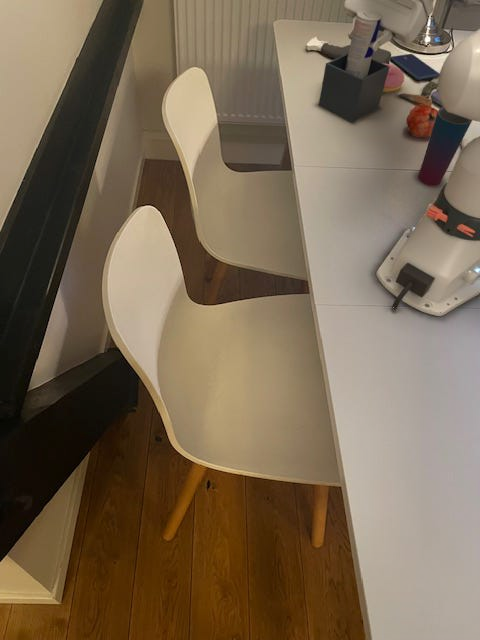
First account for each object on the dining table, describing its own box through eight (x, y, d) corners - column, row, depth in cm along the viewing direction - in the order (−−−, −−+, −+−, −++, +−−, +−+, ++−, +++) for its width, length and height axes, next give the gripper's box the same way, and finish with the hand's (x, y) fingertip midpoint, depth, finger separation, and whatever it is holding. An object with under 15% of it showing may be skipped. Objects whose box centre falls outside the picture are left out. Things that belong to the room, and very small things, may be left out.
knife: (452, 75, 144) (441, 72, 146) (453, 70, 143) (443, 67, 145) (426, 99, 133) (415, 96, 134) (428, 94, 132) (417, 91, 133)
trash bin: (352, 123, 124) (362, 80, 116) (318, 105, 129) (325, 63, 121) (378, 108, 130) (389, 66, 121) (344, 91, 134) (353, 50, 126)
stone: (401, 93, 135) (396, 99, 134) (402, 88, 134) (397, 94, 133) (433, 104, 131) (428, 109, 130) (435, 98, 130) (429, 104, 129)
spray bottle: (379, 75, 141) (300, 54, 148) (391, 60, 147) (314, 41, 154) (382, 64, 138) (301, 44, 146) (394, 50, 145) (316, 31, 152)
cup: (423, 190, 108) (449, 125, 97) (408, 171, 113) (431, 107, 101) (450, 186, 110) (479, 122, 98) (435, 167, 114) (461, 104, 102)
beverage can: (365, 87, 122) (381, 20, 110) (342, 84, 123) (356, 17, 111) (366, 77, 126) (382, 11, 114) (343, 74, 126) (357, 7, 114)
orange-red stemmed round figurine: (395, 137, 125) (413, 132, 116) (401, 106, 124) (419, 98, 114) (423, 141, 126) (443, 136, 117) (429, 110, 125) (450, 103, 115)
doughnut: (353, 82, 137) (356, 67, 134) (378, 71, 142) (382, 56, 139) (385, 98, 132) (389, 83, 129) (409, 86, 137) (414, 71, 134)
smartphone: (440, 76, 140) (411, 55, 149) (441, 73, 140) (412, 52, 149) (417, 80, 138) (389, 58, 148) (417, 77, 138) (389, 56, 147)
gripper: (363, -36, 116) (325, 19, 119) (433, -7, 106) (389, 52, 109) (371, -17, 121) (335, 35, 125) (439, 12, 111) (397, 68, 115)
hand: (361, 43), depth 117 cm, fingers closed on beverage can, 5 cm apart
